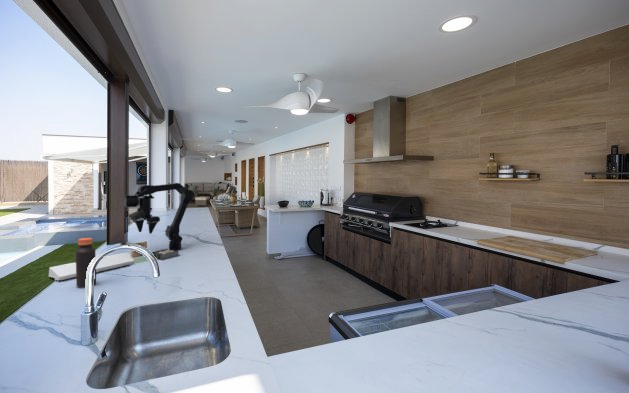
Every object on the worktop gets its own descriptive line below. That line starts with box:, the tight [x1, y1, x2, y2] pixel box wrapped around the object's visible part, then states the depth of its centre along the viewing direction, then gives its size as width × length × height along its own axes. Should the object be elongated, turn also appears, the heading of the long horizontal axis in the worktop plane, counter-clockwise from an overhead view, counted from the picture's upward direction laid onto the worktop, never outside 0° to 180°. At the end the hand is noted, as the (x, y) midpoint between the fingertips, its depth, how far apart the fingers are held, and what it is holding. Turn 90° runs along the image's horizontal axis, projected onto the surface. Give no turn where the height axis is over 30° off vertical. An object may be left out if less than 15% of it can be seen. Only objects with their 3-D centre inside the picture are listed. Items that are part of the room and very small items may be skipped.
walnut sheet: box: [130, 241, 148, 258], centre depth 171 cm, size 8×2×10 cm, turn 154°
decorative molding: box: [48, 252, 136, 282], centre depth 155 cm, size 34×5×10 cm
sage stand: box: [132, 256, 149, 265], centre depth 171 cm, size 11×8×4 cm
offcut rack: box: [151, 248, 181, 261], centre depth 182 cm, size 12×12×4 cm
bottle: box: [75, 237, 97, 288], centre depth 134 cm, size 7×7×20 cm
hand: (145, 232), depth 187 cm, fingers open, 9 cm apart
